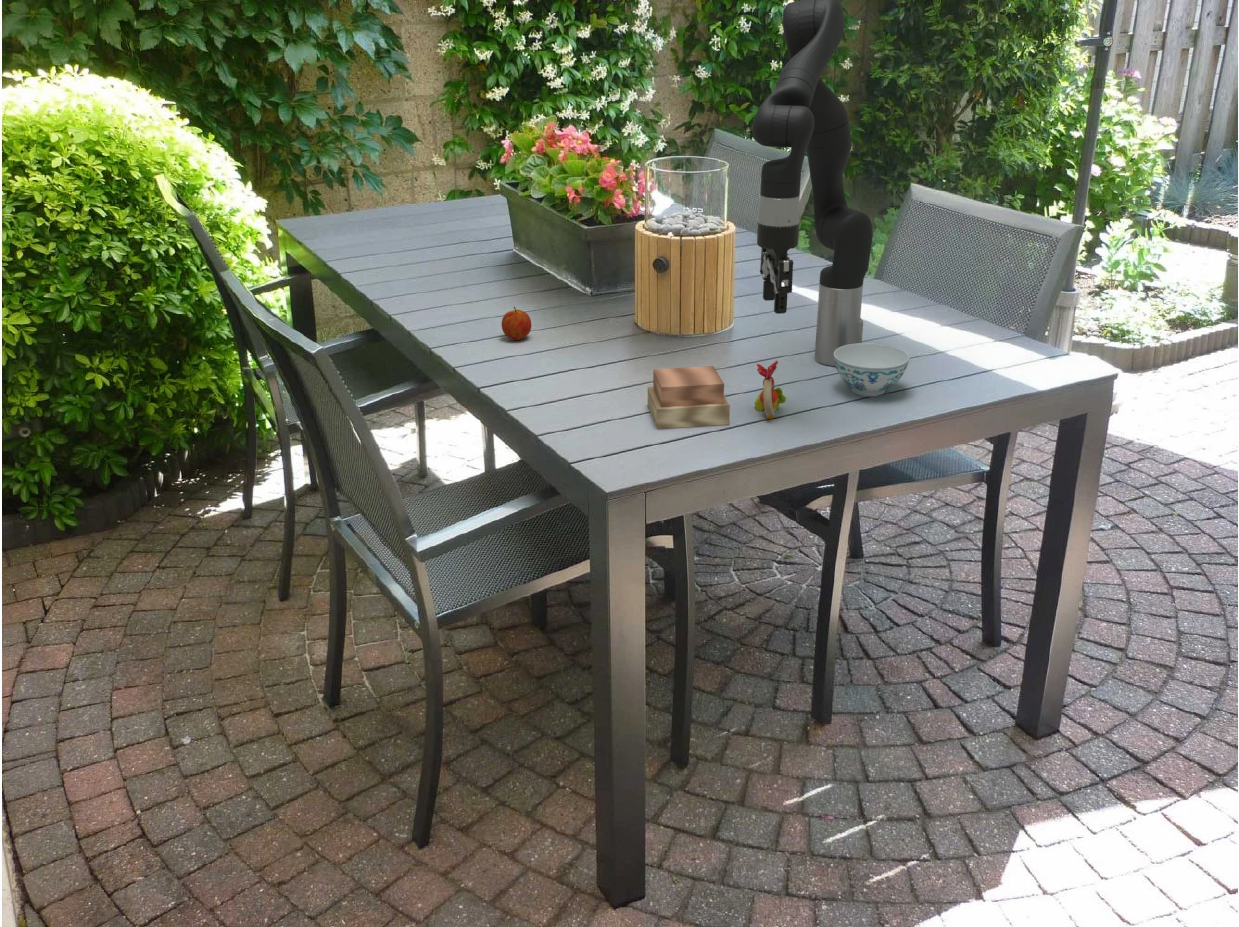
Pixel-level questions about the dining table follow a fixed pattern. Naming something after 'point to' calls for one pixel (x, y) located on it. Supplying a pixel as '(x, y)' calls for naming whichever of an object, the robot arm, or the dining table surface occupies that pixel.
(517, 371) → the dining table surface
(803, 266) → the dining table surface
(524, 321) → the fruit
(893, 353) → the chinaware
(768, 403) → the bird rattle
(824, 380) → the dining table surface
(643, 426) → the dining table surface
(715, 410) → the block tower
